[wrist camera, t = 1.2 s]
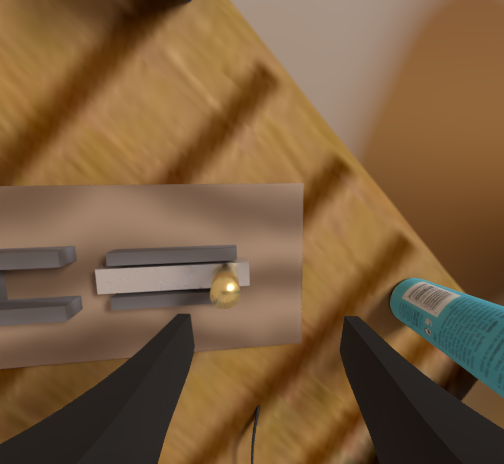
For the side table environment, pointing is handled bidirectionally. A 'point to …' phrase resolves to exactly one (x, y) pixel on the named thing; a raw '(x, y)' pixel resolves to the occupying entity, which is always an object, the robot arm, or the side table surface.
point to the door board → (143, 252)
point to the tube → (455, 326)
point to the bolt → (178, 278)
